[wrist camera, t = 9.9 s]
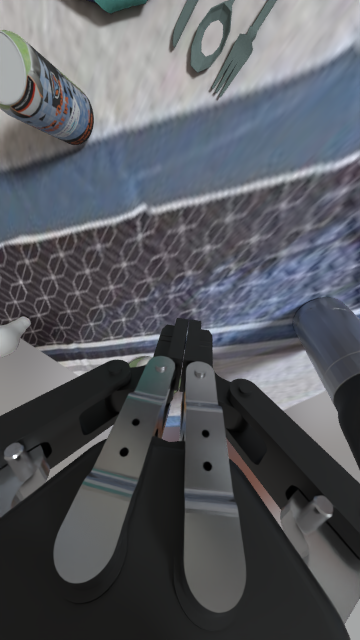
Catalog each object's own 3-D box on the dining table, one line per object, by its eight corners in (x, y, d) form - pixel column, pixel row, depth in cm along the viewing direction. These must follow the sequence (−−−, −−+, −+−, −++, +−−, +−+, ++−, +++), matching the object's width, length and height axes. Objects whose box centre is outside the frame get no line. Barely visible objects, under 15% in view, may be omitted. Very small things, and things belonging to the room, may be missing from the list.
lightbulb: (19, 302, 48) (-27, 332, 39) (45, 319, 50) (7, 352, 41) (10, 319, 51) (-34, 351, 42) (35, 335, 53) (-2, 368, 44)
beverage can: (77, 156, 33) (17, 148, 23) (37, 98, 30) (-52, 59, 20) (108, 124, 30) (57, 100, 20) (68, 58, 27) (-15, -8, 17)
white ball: (165, 366, 54) (162, 356, 49) (157, 388, 51) (153, 380, 46) (144, 360, 55) (139, 350, 51) (134, 381, 52) (128, 373, 48)
